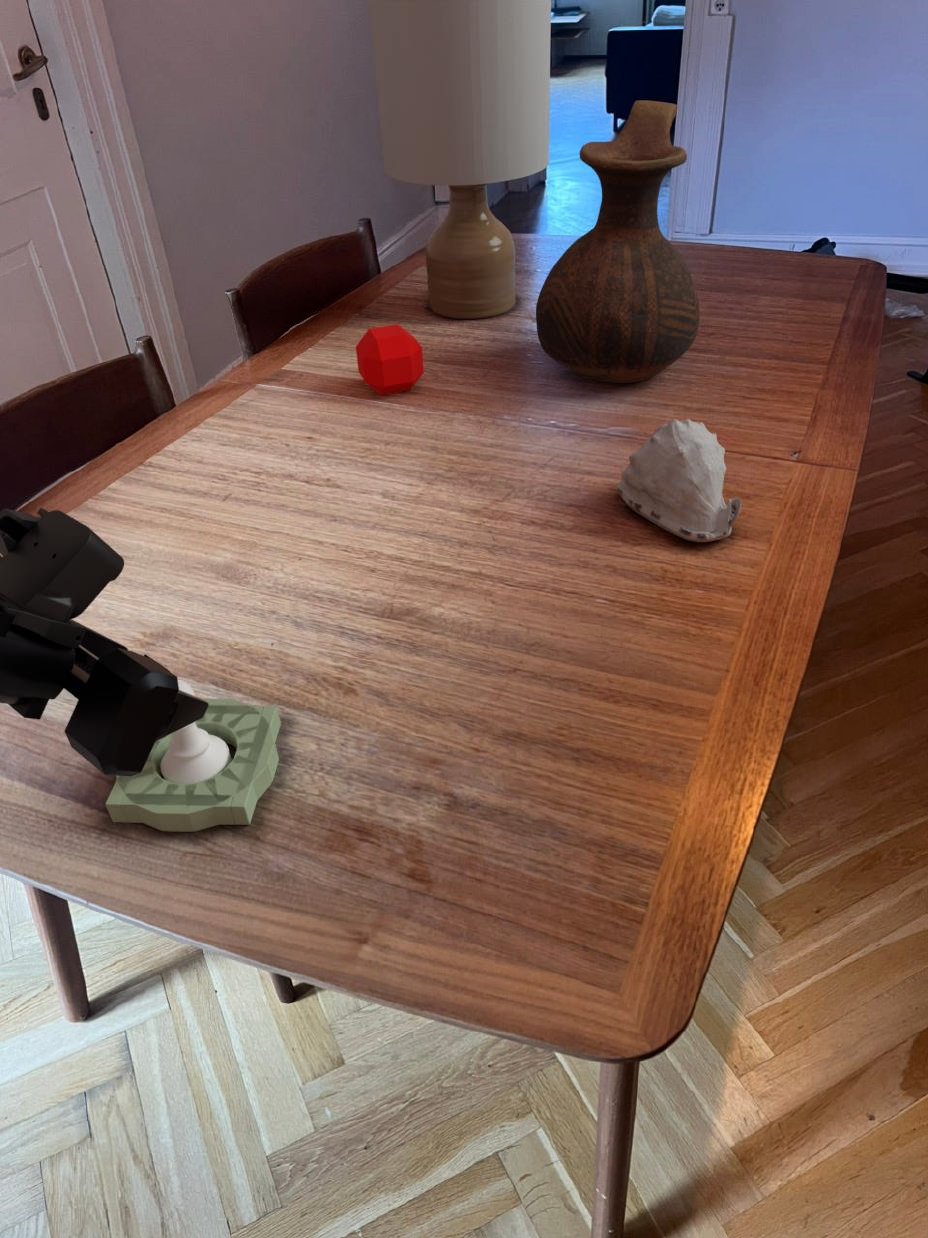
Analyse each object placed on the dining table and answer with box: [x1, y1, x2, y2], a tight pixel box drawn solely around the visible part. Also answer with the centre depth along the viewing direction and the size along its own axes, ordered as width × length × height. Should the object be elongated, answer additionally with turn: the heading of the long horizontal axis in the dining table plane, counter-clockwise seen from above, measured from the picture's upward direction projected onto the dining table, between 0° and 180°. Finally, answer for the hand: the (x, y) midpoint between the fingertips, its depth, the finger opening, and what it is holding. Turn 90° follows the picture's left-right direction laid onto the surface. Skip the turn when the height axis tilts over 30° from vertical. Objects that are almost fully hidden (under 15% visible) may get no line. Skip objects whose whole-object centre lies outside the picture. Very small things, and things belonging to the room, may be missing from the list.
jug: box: [535, 99, 701, 384], centre depth 112 cm, size 22×22×30 cm
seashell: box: [616, 417, 742, 543], centre depth 89 cm, size 12×14×10 cm
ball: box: [355, 323, 425, 396], centre depth 117 cm, size 8×8×8 cm
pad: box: [105, 698, 282, 833], centre depth 66 cm, size 11×11×2 cm
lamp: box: [368, 0, 552, 320], centre depth 129 cm, size 24×24×42 cm
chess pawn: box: [161, 678, 233, 784], centre depth 64 cm, size 5×5×9 cm
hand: (163, 681), depth 60 cm, fingers open, 9 cm apart
